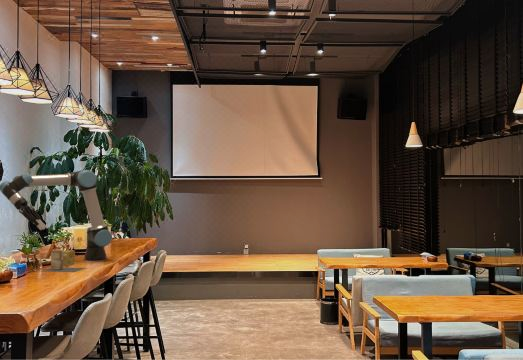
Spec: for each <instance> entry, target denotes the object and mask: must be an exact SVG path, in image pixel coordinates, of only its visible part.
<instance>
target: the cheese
mask: <svg viewBox="0 0 523 360" xmlns="http://www.w3.org/2000/svg"><path fill="white" fill-rule="evenodd" d="M62 250H63V267H70V266H72V265H75V260H76V251H75V250H73V249H71V250H66V249H65V250H64V249H62Z"/></svg>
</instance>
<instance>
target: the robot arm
mask: <svg viewBox="0 0 523 360" xmlns="http://www.w3.org/2000/svg"><path fill="white" fill-rule="evenodd" d="M97 180H98V179H97V175H96V173H95V172H93V171H92V170H89V169H83V170H78V171H73V172H72V171H71V172H67V173H63V174H62V173H61V174H59V173H58V174H39V175H38V174H36V175H31V174H30V173H29V172H25V173H22V174H21V175H17V176H15V177H13V178H12V181H9V180H5V181H3V182H1V183H0V192H1V194H2V195H4V196H5V198H6V199H7V200H8V201H9V202H10V203H11V204H12V205H13V207H14V208H15V209H16V210H18V213H20V214H21V215H22V216H23V217H24V218H26V220H27V221H29V222H30V223H31V224H34V225H35V226H36V227H37V228H38V229H39V230H40V231H42V230H43V231H44V230H45V229H46V228H47V225H46V224H45V223H44V222H43V220H41V219H42V217H41V216H40V215H39V213H38V212H37V211H36V210H35V208H34V207H31V206H29V205H28V204H29V202H28V200H27V199H26V198H24V195H22V194H21V193H20V191H22V190H23V189H25V188H33V187H34V188H35V187H52V186H53V187H55V186H68V187H78V190H79V192H80V193H82V196H83V200H84V203H85V207H86V210H87V211H86V212H87V214H88V218H89V222H90V225H91V226H89V227H87V228H86V250H85V254H84V260H86V261H102V260H106V259H107V253H106V250H105V247H107V246H108V245H110V244H111V242H112V239H113V235H112V232H110V231H109V227H108V225H107V224H106V223H105V221H104V218H103V214H102V210H101V206H100V202H99V198H98V195H97V191H96V190H97V188H98V186H97Z"/></svg>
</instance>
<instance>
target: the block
mask: <svg viewBox="0 0 523 360" xmlns="http://www.w3.org/2000/svg"><path fill="white" fill-rule="evenodd" d="M63 250H64V249H51V250H50V269H51V270H61V269H63Z"/></svg>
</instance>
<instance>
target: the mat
mask: <svg viewBox="0 0 523 360" xmlns="http://www.w3.org/2000/svg"><path fill="white" fill-rule="evenodd" d="M86 269H87V267H68V266H66V267H63V269H61V270H51V268H48V269H44V270H41V272H45V273H49V272H50V273H53V272H54V273H77V272H80V271H83V270H86Z"/></svg>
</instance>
